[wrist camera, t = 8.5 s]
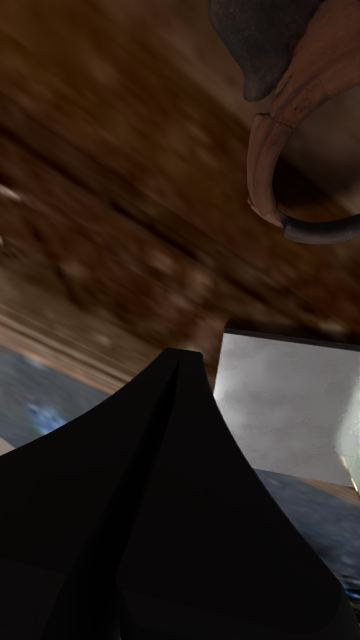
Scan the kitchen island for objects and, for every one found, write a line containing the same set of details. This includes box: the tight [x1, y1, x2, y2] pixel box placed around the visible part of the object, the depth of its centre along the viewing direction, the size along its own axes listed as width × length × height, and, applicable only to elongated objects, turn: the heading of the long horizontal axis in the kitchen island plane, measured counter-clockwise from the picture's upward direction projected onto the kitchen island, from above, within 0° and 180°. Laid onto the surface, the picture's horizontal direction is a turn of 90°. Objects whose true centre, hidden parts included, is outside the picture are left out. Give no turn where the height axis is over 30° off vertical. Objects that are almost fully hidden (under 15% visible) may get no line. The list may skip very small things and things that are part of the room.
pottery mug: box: [208, 0, 360, 244], centre depth 12 cm, size 12×10×8 cm
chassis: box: [213, 327, 360, 499], centre depth 20 cm, size 19×14×4 cm
